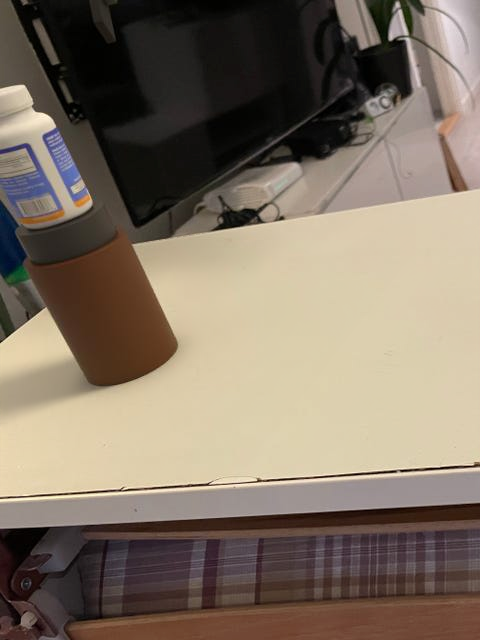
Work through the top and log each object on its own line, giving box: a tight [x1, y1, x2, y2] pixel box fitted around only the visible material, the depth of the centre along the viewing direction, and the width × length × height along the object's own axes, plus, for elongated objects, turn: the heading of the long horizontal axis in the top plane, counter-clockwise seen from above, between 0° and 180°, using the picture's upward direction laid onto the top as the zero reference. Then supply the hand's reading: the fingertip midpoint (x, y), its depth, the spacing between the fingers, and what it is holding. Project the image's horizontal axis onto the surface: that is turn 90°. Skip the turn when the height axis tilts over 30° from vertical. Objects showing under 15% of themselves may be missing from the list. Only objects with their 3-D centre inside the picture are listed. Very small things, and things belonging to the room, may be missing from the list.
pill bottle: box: [0, 84, 93, 229], centre depth 59 cm, size 5×5×10 cm
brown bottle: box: [14, 199, 179, 387], centre depth 64 cm, size 8×8×14 cm
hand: (27, 51), depth 67 cm, fingers open, 13 cm apart
